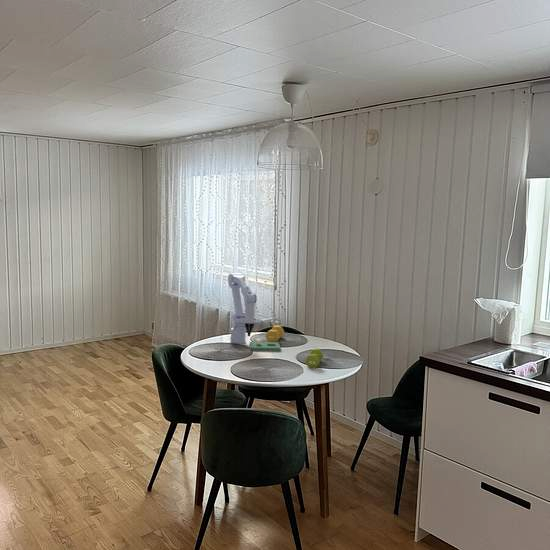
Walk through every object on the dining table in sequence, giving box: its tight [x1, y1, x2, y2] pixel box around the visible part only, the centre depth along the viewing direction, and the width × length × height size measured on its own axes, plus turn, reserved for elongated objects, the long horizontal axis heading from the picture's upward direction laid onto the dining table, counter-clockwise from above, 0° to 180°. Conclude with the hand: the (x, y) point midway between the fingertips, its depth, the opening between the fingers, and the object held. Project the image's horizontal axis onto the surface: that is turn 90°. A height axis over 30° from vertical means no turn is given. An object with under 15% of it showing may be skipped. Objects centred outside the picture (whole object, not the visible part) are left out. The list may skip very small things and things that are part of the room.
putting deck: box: [249, 341, 282, 352], centre depth 311 cm, size 18×14×2 cm
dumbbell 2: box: [265, 325, 285, 342], centre depth 332 cm, size 19×9×8 cm, turn 167°
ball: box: [255, 338, 262, 345], centre depth 310 cm, size 4×4×4 cm
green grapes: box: [304, 348, 324, 369], centre depth 280 cm, size 16×8×7 cm, turn 166°
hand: (248, 335), depth 309 cm, fingers closed
